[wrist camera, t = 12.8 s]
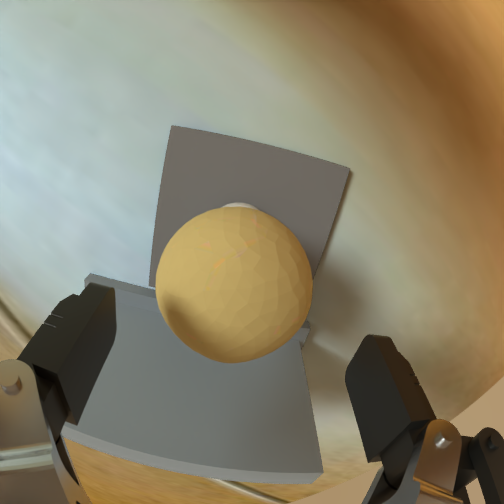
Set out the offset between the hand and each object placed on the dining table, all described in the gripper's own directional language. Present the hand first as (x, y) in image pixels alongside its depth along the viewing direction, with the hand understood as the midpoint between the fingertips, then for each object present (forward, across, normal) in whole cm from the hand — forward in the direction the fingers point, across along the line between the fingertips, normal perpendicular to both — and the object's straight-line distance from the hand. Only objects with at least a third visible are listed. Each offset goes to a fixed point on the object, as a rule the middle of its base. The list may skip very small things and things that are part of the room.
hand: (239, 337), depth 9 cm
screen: (+11, +2, +9) cm, 14 cm away
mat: (+11, 0, +1) cm, 11 cm away
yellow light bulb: (+11, 0, +1) cm, 11 cm away
